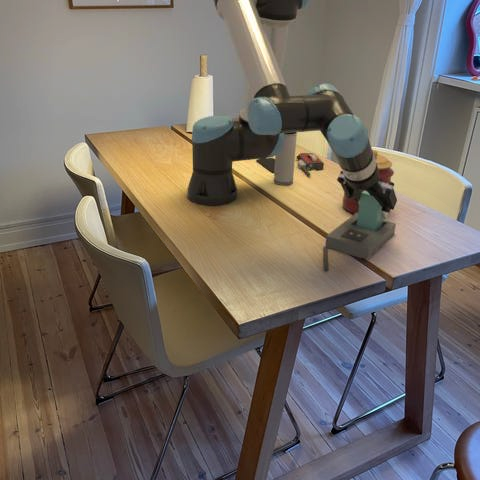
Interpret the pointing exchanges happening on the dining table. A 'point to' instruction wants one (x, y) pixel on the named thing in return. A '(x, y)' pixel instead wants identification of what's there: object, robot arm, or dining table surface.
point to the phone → (267, 163)
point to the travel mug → (285, 160)
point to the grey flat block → (358, 238)
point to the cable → (325, 258)
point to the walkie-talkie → (309, 162)
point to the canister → (384, 174)
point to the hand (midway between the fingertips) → (376, 211)
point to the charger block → (369, 213)
